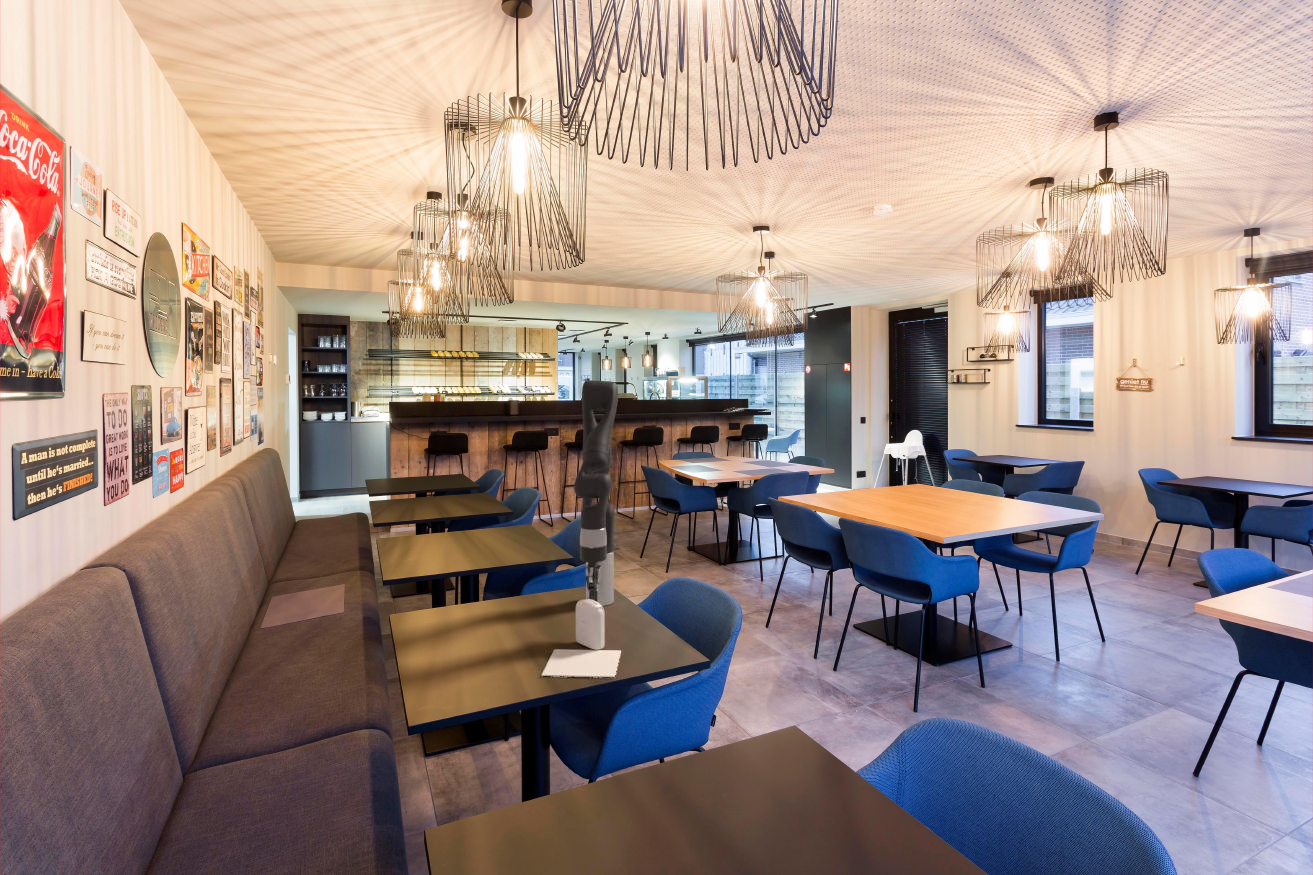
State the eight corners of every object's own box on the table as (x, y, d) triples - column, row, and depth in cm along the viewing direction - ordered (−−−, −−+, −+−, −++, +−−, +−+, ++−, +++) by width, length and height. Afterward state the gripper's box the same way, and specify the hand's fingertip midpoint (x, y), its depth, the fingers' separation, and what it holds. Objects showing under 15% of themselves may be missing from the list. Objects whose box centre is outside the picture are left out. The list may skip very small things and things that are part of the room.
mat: (554, 650, 170) (554, 649, 170) (621, 652, 169) (621, 650, 169) (541, 676, 154) (541, 674, 154) (615, 678, 153) (615, 676, 153)
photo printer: (573, 641, 176) (573, 597, 176) (586, 638, 179) (586, 595, 179) (593, 651, 168) (594, 605, 168) (607, 648, 171) (607, 602, 171)
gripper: (583, 538, 186) (583, 595, 187) (576, 548, 173) (576, 610, 174) (609, 538, 186) (609, 596, 187) (603, 548, 173) (603, 610, 174)
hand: (593, 603), depth 181 cm, fingers closed
